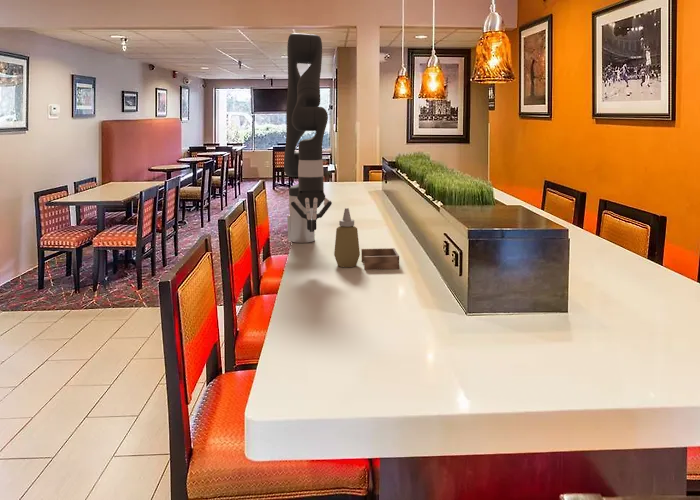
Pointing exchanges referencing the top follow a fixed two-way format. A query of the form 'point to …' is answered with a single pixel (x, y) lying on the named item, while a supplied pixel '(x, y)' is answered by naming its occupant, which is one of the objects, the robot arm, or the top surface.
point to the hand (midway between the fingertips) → (312, 231)
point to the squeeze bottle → (346, 242)
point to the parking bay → (380, 258)
